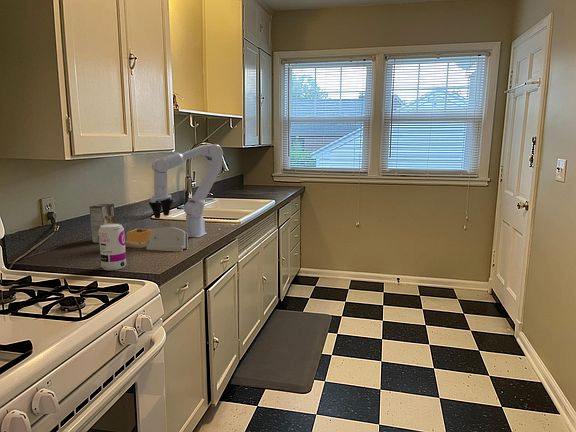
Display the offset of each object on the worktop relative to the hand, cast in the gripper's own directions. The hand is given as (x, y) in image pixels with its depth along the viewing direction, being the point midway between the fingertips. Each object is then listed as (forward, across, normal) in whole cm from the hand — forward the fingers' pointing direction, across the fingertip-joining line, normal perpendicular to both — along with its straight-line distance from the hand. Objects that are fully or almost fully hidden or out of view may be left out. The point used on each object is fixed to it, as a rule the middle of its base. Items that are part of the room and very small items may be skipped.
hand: (161, 216), depth 197 cm
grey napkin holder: (+11, +14, +11) cm, 21 cm away
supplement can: (+11, +44, +6) cm, 46 cm away
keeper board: (+11, +9, -6) cm, 15 cm away
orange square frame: (+9, +9, -5) cm, 14 cm away
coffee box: (+11, +7, -24) cm, 28 cm away
